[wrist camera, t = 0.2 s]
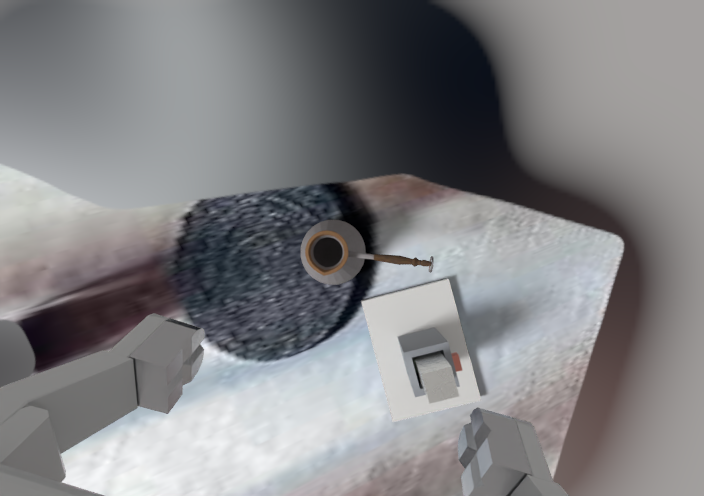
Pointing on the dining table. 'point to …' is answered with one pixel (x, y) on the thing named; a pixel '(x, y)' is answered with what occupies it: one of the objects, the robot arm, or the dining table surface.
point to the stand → (418, 346)
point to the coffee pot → (341, 253)
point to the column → (435, 376)
